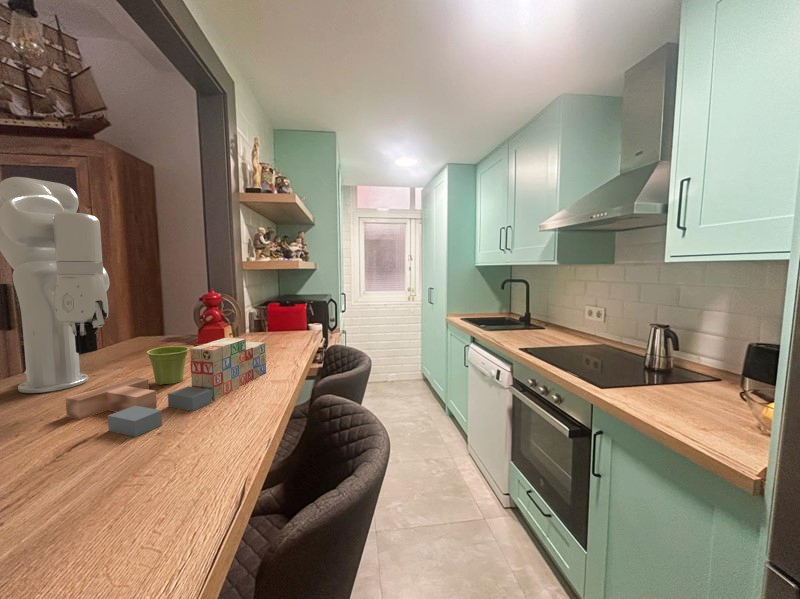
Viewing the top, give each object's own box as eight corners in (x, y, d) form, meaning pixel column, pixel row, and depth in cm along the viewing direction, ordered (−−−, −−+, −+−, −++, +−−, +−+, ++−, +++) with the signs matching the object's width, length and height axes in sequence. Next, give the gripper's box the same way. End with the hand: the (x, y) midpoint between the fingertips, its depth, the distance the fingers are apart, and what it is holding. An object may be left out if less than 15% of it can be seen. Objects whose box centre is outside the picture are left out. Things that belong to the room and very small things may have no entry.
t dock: (108, 430, 64) (107, 415, 64) (188, 398, 80) (187, 386, 80) (135, 436, 62) (134, 421, 62) (211, 402, 78) (211, 389, 78)
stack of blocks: (247, 371, 102) (246, 331, 101) (266, 373, 101) (265, 332, 100) (191, 397, 81) (189, 347, 80) (214, 400, 80) (212, 349, 79)
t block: (66, 416, 70) (65, 397, 69) (136, 393, 83) (136, 377, 83) (111, 426, 66) (110, 406, 66) (177, 400, 79) (176, 383, 79)
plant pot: (177, 374, 98) (176, 344, 97) (197, 379, 94) (196, 348, 93) (140, 383, 90) (139, 351, 89) (160, 389, 86) (158, 356, 85)
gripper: (36, 270, 74) (43, 353, 75) (83, 270, 69) (90, 358, 71) (78, 270, 81) (83, 346, 82) (123, 270, 77) (128, 350, 78)
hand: (86, 351), depth 77 cm, fingers closed
